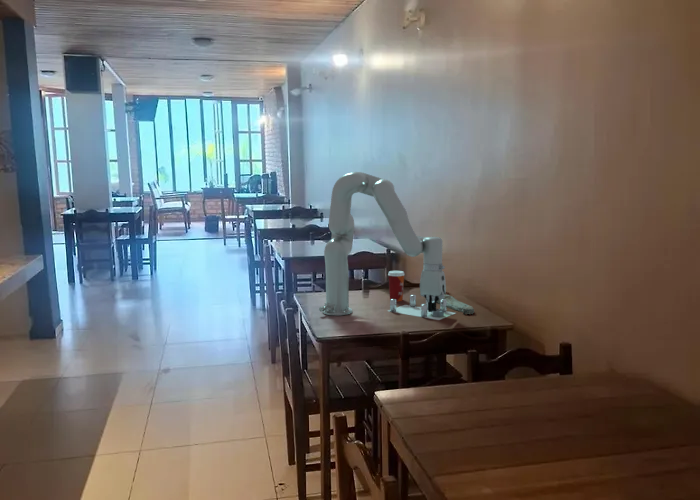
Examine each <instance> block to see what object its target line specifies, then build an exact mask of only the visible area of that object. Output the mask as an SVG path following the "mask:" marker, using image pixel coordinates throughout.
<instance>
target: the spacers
mask: <svg viewBox="0 0 700 500" xmlns="http://www.w3.org/2000/svg"><path fill="white" fill-rule="evenodd" d="M416 303H417V295H416V294H409V305H410V307H417V304H416ZM389 304H390V305H389V310H390V311H389V312H390V313H396V308H397V301H396V299H390V298H389ZM420 307H421V317H420V318H424V317H427V310H428V302H427V300H426V299H425V303H421V304H420ZM447 308H448V307H447V300H446V299H441V300H440V304H439V309H443V310H444V312H446V311H447Z"/></svg>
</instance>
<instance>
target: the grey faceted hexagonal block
mask: <svg viewBox="0 0 700 500" xmlns="http://www.w3.org/2000/svg"><path fill="white" fill-rule="evenodd" d="M432 316H433V317H443V316H444V310H443V309H440V308H436V309H432Z"/></svg>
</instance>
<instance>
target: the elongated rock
mask: <svg viewBox="0 0 700 500" xmlns="http://www.w3.org/2000/svg"><path fill="white" fill-rule="evenodd" d="M432 296H433V295H432ZM443 299H446V300H447V308H448V309H451V310H453V311H457V312H460V313H462V315H465V314H472V315H474V314H475V309H474V307H473V306H472V305H470V304H467V303H465V302H463V301H460V300H458V299H457V298H455V297H454V296H452V295H449V294H447V293H445V294H444V298H443ZM440 300H441V299H439V300H438V301H437V302H436V304H439V305H440ZM473 313H474V314H473Z"/></svg>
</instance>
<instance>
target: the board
mask: <svg viewBox="0 0 700 500" xmlns="http://www.w3.org/2000/svg"><path fill="white" fill-rule="evenodd" d="M387 312H390V309H387ZM395 313H396V314H402V315H409V316H412V317H419V318H422V317H421V306H416V307H410V304H404V305H400V306H396V312H395ZM455 314H456V312H453V311H447V310H446V312H444V316H443V317H433V316H432V312H428V310H427V317H423V318H425V319H431V320H436V321H440V320H443V319H445V318H448V317H451V316H453V315H455Z"/></svg>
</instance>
